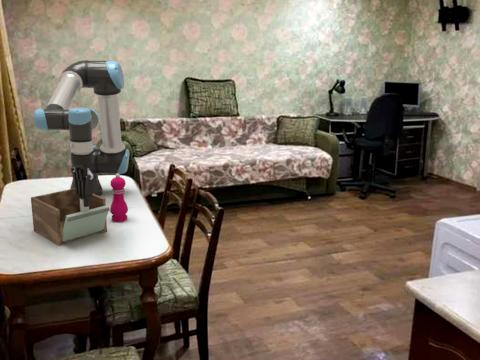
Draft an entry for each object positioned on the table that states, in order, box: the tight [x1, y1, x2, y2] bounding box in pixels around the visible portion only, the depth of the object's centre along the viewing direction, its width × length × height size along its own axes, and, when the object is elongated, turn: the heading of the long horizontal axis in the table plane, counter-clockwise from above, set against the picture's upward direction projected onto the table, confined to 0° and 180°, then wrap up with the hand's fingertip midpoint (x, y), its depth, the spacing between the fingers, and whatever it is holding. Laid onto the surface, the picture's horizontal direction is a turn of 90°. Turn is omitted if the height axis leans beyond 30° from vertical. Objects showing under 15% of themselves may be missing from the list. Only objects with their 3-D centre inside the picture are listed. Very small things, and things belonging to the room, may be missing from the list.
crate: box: [30, 188, 108, 247], centre depth 189 cm, size 20×20×14 cm
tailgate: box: [62, 204, 110, 243], centre depth 181 cm, size 17×2×12 cm, turn 137°
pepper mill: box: [109, 174, 129, 223], centre depth 202 cm, size 7×7×20 cm
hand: (84, 214), depth 180 cm, fingers closed
